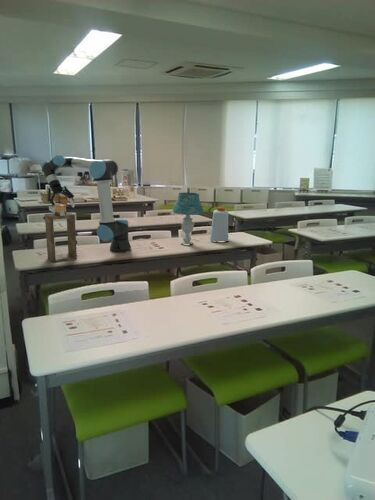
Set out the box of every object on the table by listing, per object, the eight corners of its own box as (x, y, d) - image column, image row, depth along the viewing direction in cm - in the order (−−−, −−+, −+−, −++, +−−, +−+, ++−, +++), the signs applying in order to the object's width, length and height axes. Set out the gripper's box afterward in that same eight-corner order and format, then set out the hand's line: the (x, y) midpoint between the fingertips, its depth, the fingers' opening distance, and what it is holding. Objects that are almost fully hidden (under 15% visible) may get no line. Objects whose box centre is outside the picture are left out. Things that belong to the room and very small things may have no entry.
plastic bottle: (209, 242, 301) (211, 208, 293) (210, 237, 315) (212, 205, 308) (228, 243, 300) (230, 209, 292) (228, 239, 314) (230, 206, 306)
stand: (71, 254, 254) (69, 212, 246) (76, 258, 246) (74, 214, 238) (47, 258, 245) (44, 214, 236) (52, 262, 237) (49, 216, 229)
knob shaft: (56, 209, 252) (55, 200, 250) (67, 215, 235) (67, 205, 234) (46, 210, 248) (45, 201, 246) (56, 216, 231) (56, 206, 230)
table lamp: (207, 245, 291) (210, 195, 279) (182, 249, 278) (184, 196, 267) (190, 238, 310) (192, 191, 298) (166, 242, 297) (167, 192, 285)
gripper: (67, 183, 274) (78, 208, 272) (35, 186, 256) (47, 213, 254) (71, 177, 269) (82, 203, 267) (39, 180, 251) (51, 207, 249)
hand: (65, 208), depth 260 cm, fingers open, 13 cm apart
